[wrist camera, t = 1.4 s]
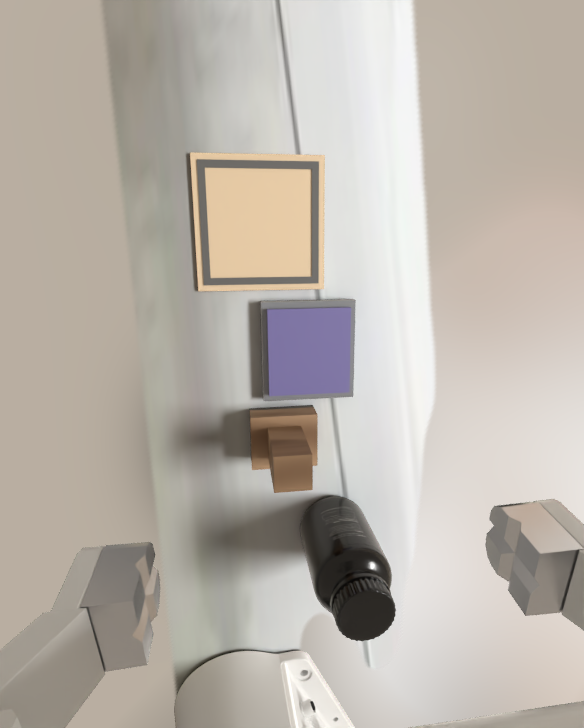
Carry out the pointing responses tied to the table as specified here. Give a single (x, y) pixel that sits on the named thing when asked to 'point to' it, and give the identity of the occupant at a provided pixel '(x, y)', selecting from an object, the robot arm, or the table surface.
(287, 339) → the ink pad
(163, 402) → the table surface
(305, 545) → the supplement bottle
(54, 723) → the robot arm
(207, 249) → the marked card
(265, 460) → the stamp
